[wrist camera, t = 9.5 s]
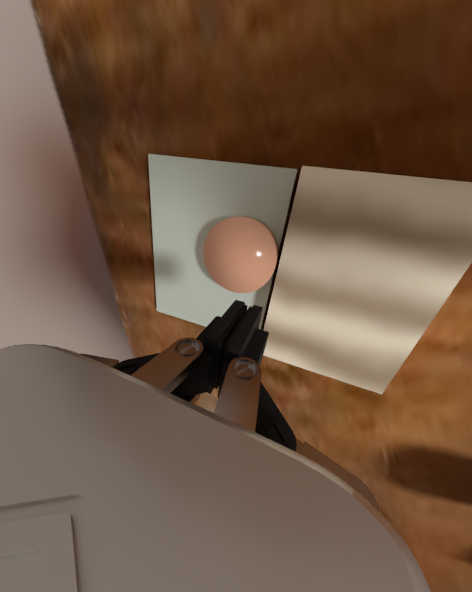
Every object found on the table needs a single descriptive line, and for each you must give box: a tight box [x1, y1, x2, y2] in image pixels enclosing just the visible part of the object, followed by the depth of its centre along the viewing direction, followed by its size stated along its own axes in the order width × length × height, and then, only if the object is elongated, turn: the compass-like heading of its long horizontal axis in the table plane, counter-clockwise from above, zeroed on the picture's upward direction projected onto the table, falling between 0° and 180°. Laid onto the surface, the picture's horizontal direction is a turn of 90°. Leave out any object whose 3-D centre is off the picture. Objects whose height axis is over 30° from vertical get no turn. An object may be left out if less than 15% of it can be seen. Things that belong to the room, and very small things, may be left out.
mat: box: [148, 154, 297, 329], centre depth 25 cm, size 20×16×1 cm
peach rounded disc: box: [203, 216, 279, 293], centre depth 22 cm, size 8×8×2 cm
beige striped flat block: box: [263, 166, 472, 394], centre depth 20 cm, size 20×14×3 cm
